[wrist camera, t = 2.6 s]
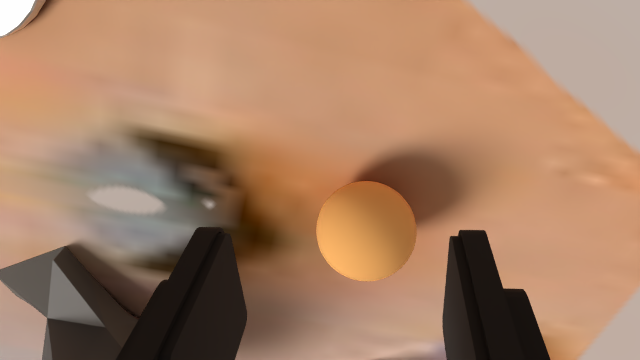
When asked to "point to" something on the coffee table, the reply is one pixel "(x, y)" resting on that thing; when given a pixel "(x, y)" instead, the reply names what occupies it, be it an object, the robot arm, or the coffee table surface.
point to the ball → (366, 231)
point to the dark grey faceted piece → (70, 307)
